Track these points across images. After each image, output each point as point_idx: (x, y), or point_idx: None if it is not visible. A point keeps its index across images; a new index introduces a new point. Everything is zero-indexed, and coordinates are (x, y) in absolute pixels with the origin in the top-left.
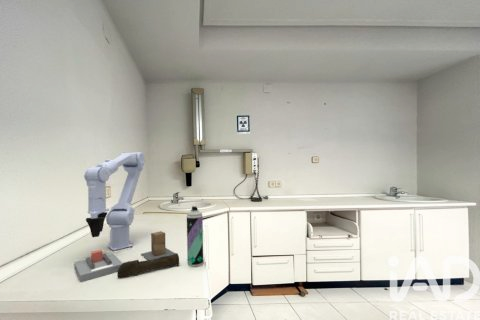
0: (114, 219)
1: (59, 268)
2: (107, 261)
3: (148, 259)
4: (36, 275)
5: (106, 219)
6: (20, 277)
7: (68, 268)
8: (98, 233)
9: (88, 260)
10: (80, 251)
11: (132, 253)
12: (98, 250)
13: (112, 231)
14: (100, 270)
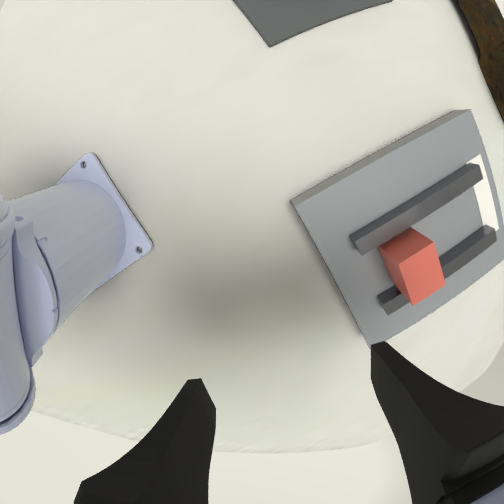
0: (6, 358)
1: (338, 382)
2: (473, 185)
3: (372, 4)
4: (371, 407)
5: (27, 413)
6: (365, 431)
7: (353, 353)
8: (398, 357)
9: None
10: (145, 387)
11: (225, 104)
12: (410, 273)
13: (69, 312)
14: (496, 197)
